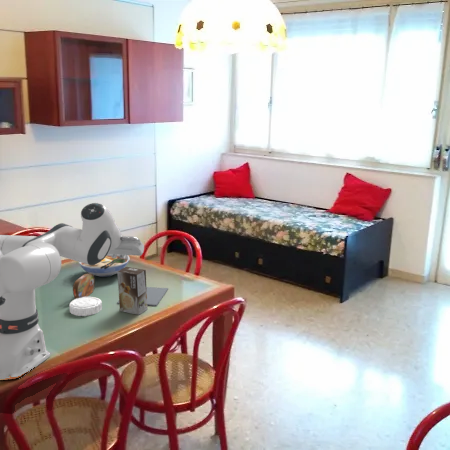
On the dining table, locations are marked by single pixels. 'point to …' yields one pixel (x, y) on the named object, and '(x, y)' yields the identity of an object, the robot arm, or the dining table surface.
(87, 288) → the tin
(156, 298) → the mat
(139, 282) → the coffee box
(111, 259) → the ramen bowl
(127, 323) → the dining table surface
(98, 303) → the mooncake
